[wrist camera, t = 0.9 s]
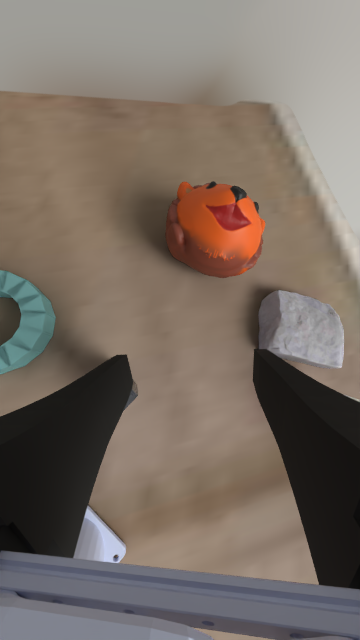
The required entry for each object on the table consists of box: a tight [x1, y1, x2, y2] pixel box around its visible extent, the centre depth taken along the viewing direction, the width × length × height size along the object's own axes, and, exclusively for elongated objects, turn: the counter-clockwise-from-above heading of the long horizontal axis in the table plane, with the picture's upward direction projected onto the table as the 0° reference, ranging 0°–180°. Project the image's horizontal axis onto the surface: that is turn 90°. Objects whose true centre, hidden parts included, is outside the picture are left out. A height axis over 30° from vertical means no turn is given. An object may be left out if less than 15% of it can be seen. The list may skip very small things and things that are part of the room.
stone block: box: [258, 290, 344, 368], centre depth 27 cm, size 12×5×10 cm
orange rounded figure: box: [165, 181, 265, 278], centre depth 22 cm, size 12×10×11 cm
